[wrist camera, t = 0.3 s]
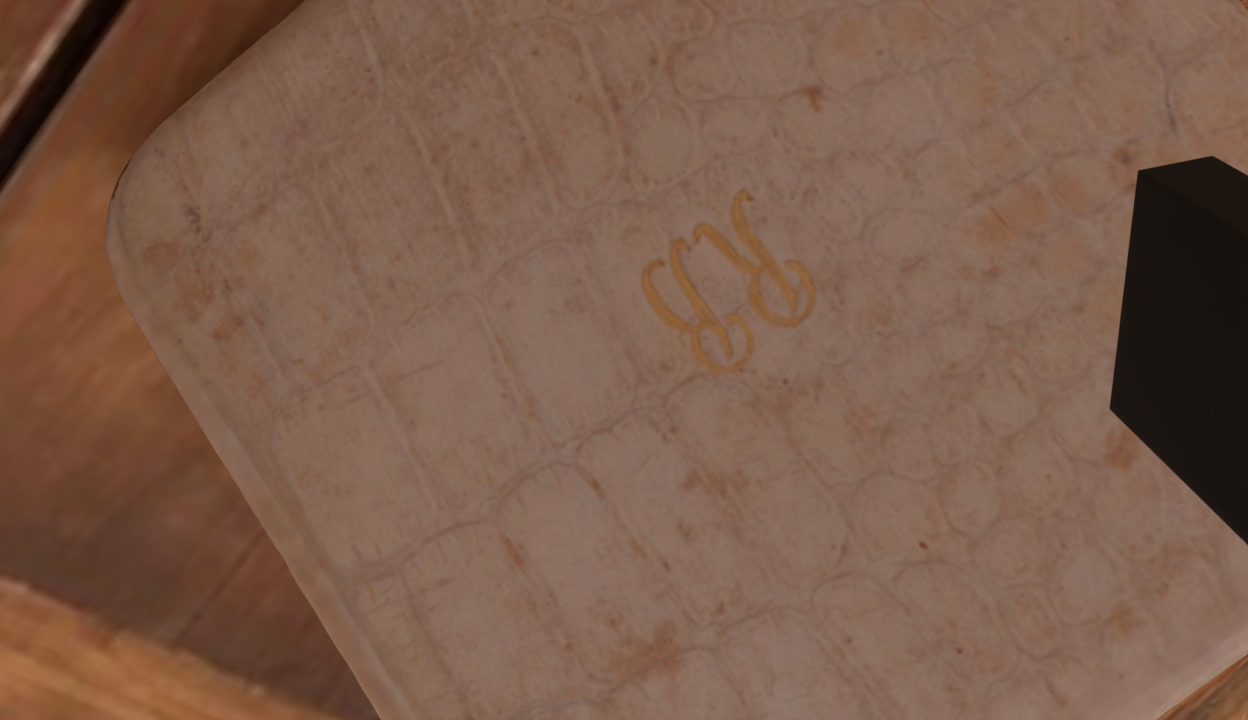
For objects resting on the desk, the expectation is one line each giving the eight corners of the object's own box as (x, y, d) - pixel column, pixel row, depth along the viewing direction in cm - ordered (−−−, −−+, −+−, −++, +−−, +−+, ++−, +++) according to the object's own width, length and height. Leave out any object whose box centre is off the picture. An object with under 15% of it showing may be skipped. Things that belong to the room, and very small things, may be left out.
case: (798, -451, 24) (1379, -636, 10) (1154, 255, 34) (1673, 633, 21) (81, 160, 27) (-211, 643, 13) (606, 631, 38) (740, 1168, 24)
